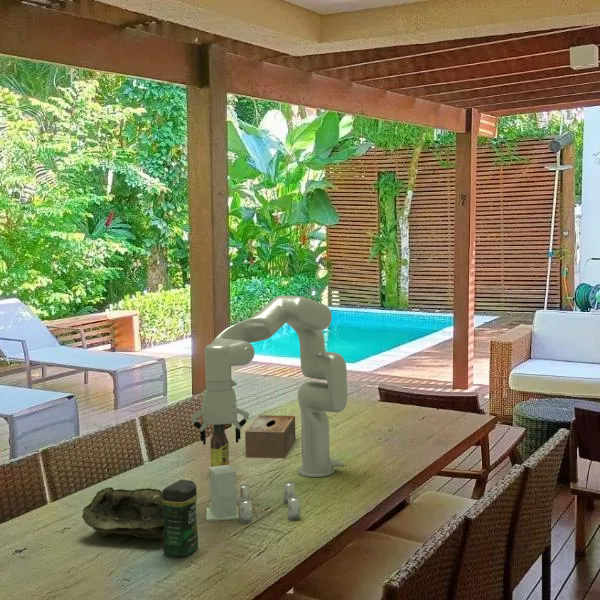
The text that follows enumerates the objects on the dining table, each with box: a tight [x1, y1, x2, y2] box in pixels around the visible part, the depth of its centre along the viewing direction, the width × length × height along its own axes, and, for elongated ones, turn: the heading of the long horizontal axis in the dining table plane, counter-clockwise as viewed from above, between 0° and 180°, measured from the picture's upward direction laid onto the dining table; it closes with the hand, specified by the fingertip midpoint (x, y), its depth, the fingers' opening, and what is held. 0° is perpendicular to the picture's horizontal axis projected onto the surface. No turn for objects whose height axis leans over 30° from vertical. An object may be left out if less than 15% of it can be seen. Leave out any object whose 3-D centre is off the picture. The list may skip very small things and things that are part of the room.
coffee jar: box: [162, 479, 199, 558], centre depth 217 cm, size 10×8×19 cm
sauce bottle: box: [209, 424, 230, 467], centre depth 279 cm, size 7×6×20 cm
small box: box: [208, 464, 238, 517], centre depth 244 cm, size 8×6×13 cm
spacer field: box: [237, 481, 301, 524], centre depth 246 cm, size 18×18×6 cm
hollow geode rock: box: [81, 487, 164, 541], centre depth 229 cm, size 28×13×15 cm
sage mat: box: [205, 505, 240, 522], centre depth 244 cm, size 10×10×1 cm
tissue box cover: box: [244, 414, 296, 459], centre depth 314 cm, size 26×14×10 cm, turn 171°
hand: (220, 442), depth 243 cm, fingers open, 9 cm apart
